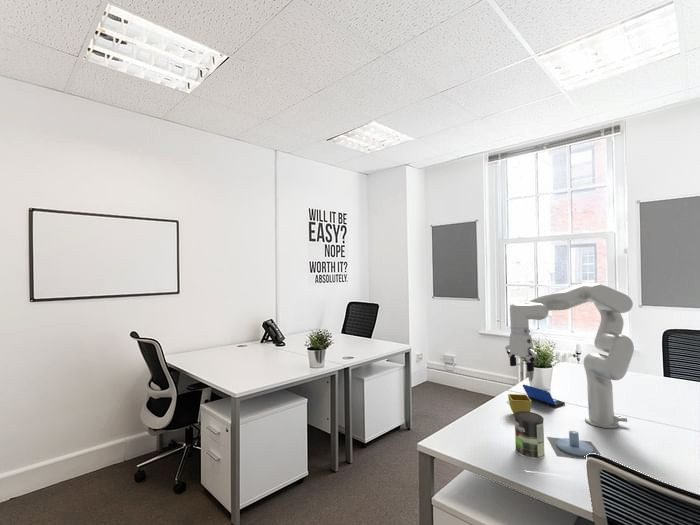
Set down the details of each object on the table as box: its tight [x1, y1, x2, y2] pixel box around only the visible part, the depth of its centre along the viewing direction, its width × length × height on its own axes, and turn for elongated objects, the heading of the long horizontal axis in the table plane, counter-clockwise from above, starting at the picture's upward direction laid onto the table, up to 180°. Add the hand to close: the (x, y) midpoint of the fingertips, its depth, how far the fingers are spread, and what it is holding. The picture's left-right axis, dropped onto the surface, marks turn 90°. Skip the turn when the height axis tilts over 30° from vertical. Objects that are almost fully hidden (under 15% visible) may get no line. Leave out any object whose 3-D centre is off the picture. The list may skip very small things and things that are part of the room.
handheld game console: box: [522, 384, 566, 409], centre depth 186 cm, size 16×13×9 cm
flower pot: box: [507, 393, 532, 415], centre depth 170 cm, size 9×9×9 cm
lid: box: [557, 430, 593, 456], centre depth 137 cm, size 12×12×6 cm
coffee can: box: [513, 411, 546, 460], centre depth 136 cm, size 10×10×14 cm
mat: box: [546, 436, 602, 460], centre depth 137 cm, size 16×16×1 cm
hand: (521, 368), depth 159 cm, fingers open, 9 cm apart
